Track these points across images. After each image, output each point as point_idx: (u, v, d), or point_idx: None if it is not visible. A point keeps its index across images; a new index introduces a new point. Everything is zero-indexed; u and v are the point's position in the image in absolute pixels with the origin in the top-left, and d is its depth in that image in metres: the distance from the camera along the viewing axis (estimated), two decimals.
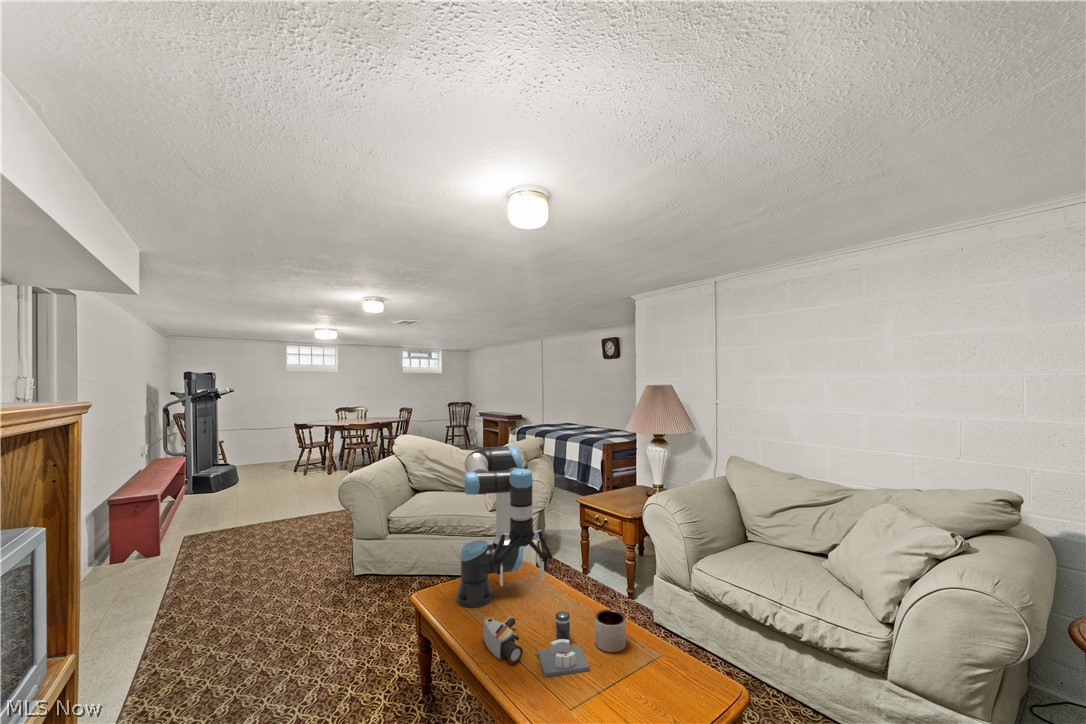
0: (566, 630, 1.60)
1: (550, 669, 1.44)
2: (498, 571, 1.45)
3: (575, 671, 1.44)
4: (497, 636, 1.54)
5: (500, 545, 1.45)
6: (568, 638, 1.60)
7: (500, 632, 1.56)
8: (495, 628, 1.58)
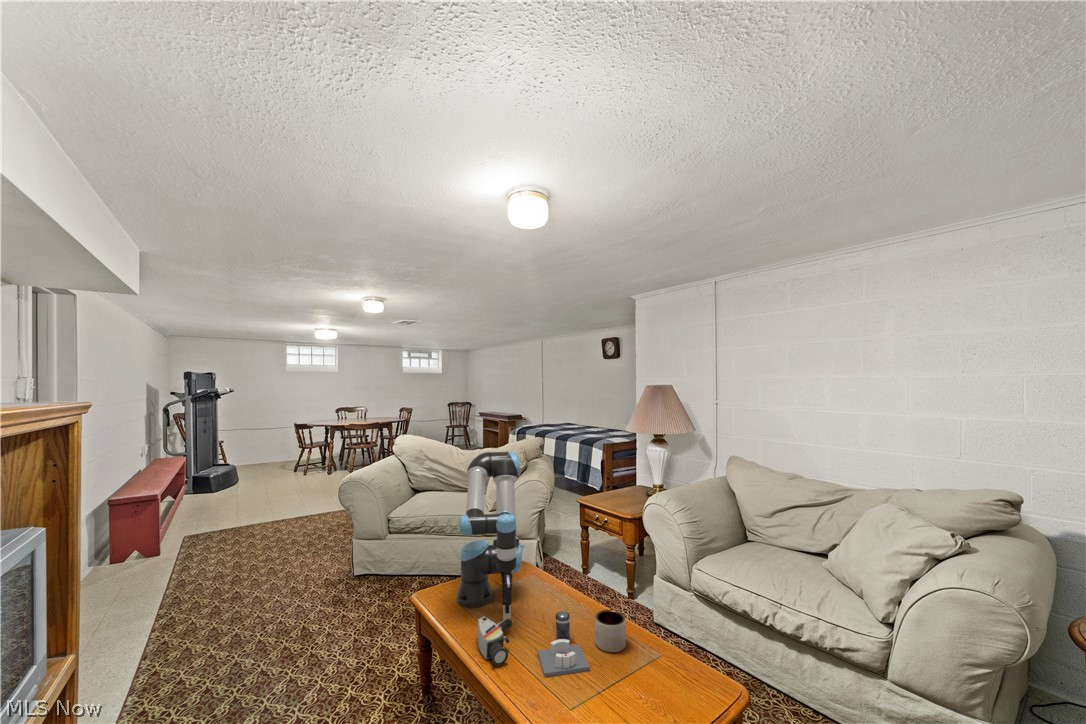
0: (566, 630, 1.60)
1: (550, 669, 1.44)
2: None
3: (575, 671, 1.44)
4: (485, 636, 1.53)
5: None
6: (568, 638, 1.60)
7: (490, 632, 1.55)
8: (486, 627, 1.58)
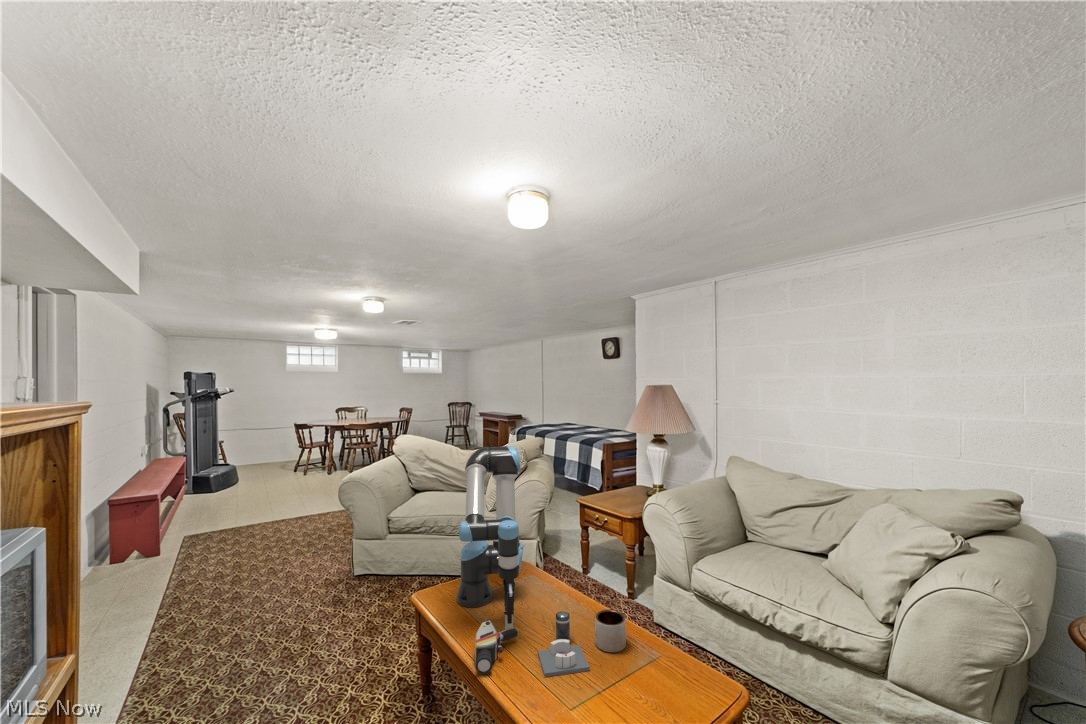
0: (566, 630, 1.60)
1: (550, 669, 1.44)
2: None
3: (575, 671, 1.44)
4: (477, 640, 1.51)
5: None
6: (568, 638, 1.60)
7: (484, 638, 1.52)
8: (484, 632, 1.55)
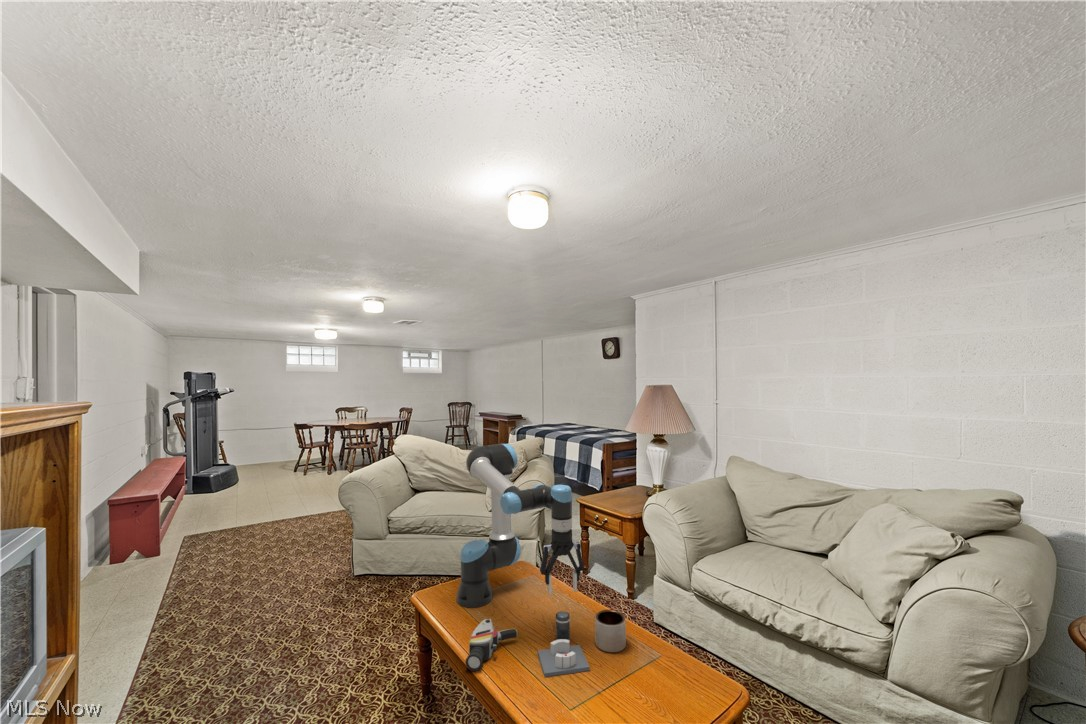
0: (566, 630, 1.60)
1: (550, 669, 1.44)
2: (547, 581, 1.61)
3: (575, 671, 1.44)
4: (472, 637, 1.53)
5: (545, 557, 1.60)
6: (568, 638, 1.60)
7: (479, 635, 1.54)
8: (481, 630, 1.57)
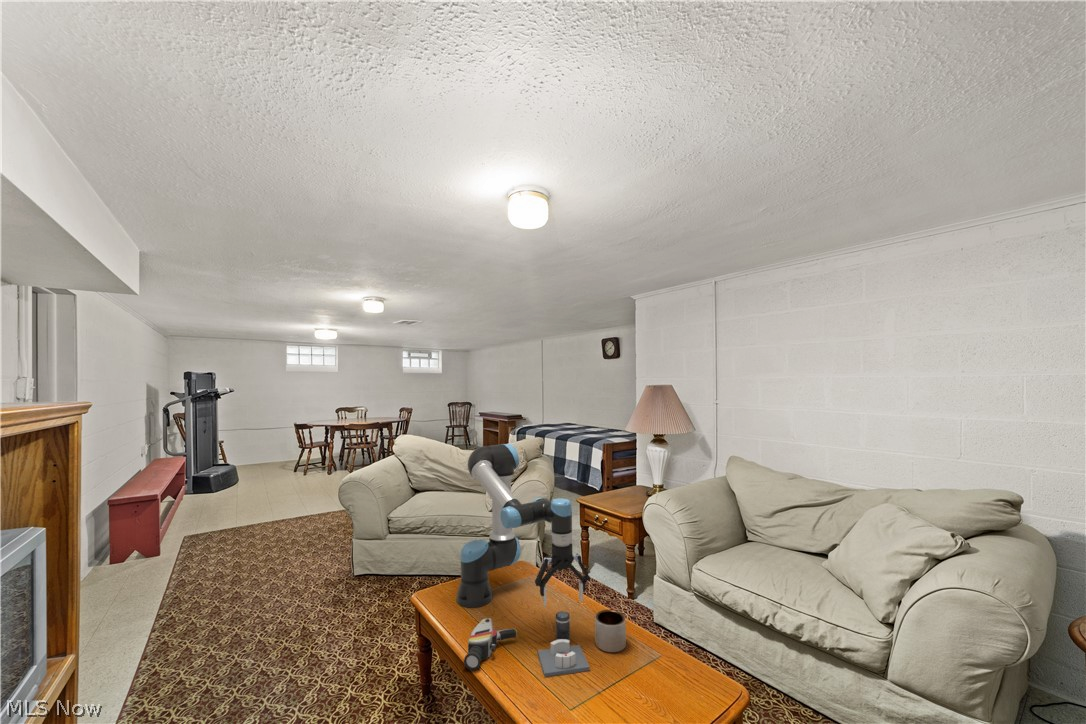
0: (566, 630, 1.60)
1: (550, 669, 1.44)
2: (542, 593, 1.60)
3: (575, 671, 1.44)
4: (471, 636, 1.54)
5: (543, 569, 1.60)
6: (568, 638, 1.60)
7: (478, 634, 1.55)
8: (480, 629, 1.58)
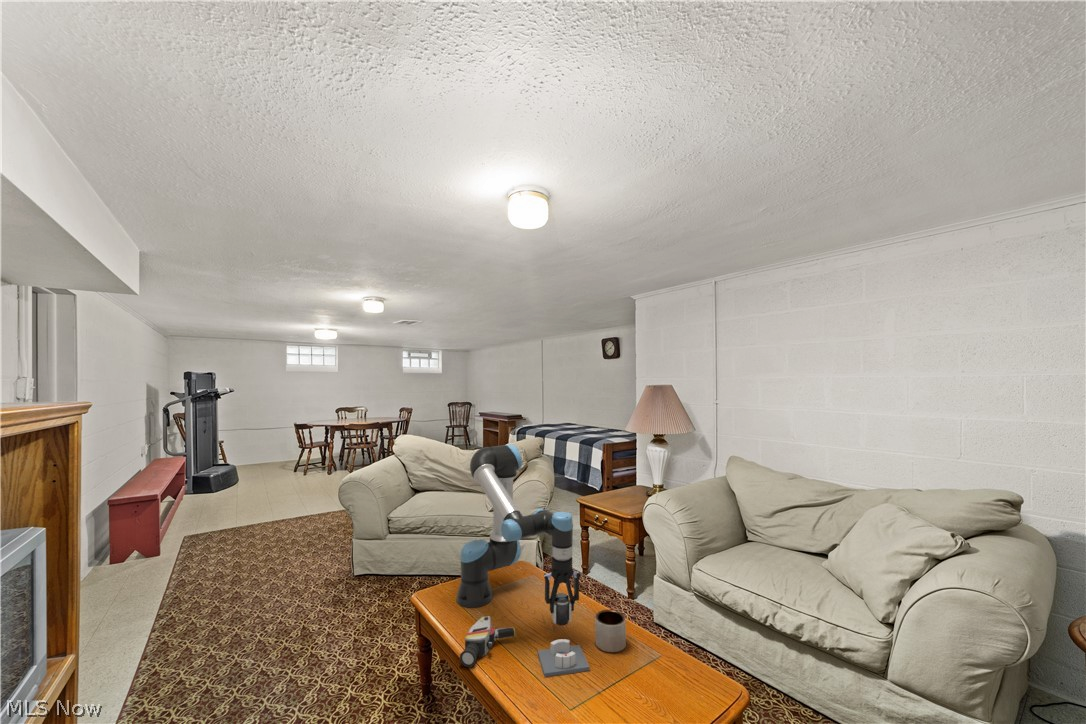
0: (565, 611, 1.61)
1: (550, 669, 1.44)
2: (552, 610, 1.61)
3: (575, 671, 1.44)
4: (469, 633, 1.55)
5: (547, 586, 1.60)
6: (567, 620, 1.61)
7: (476, 632, 1.56)
8: (478, 627, 1.59)
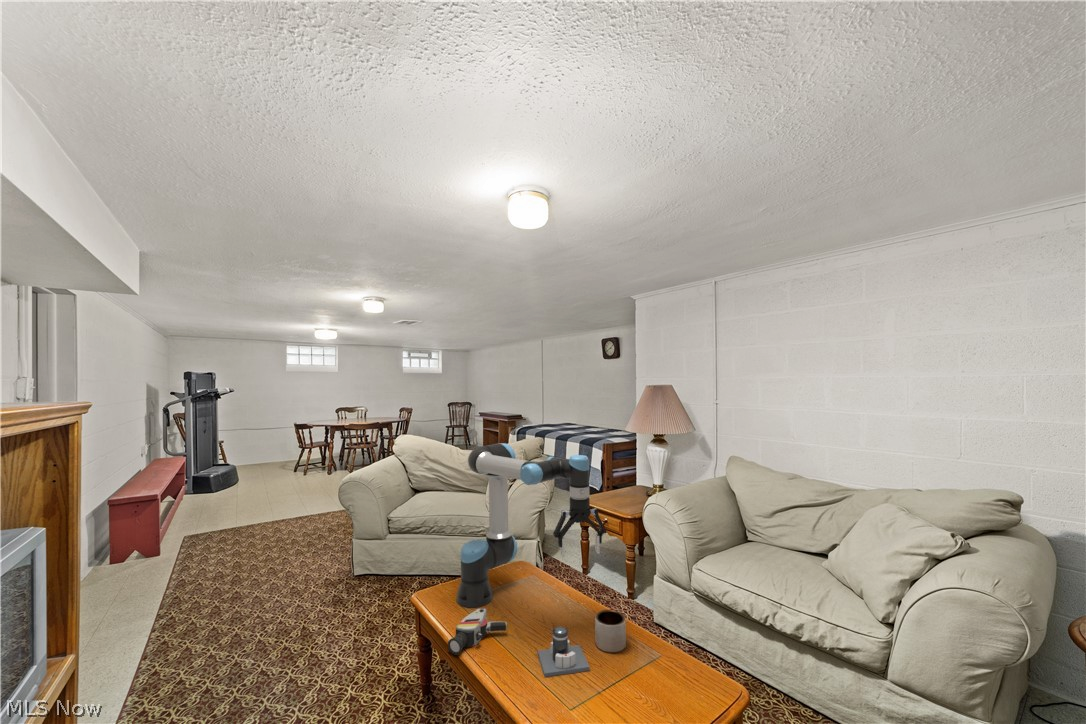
0: (564, 647, 1.48)
1: (550, 669, 1.44)
2: (560, 544, 1.66)
3: (575, 671, 1.44)
4: (461, 623, 1.62)
5: (562, 521, 1.66)
6: None
7: (467, 622, 1.62)
8: (471, 617, 1.65)
